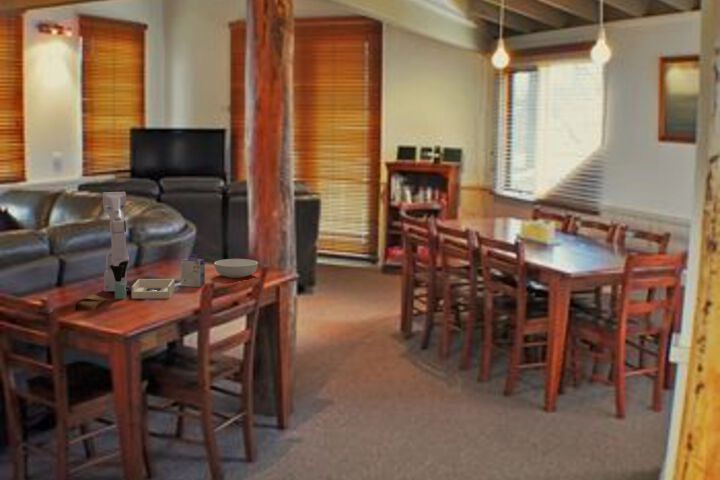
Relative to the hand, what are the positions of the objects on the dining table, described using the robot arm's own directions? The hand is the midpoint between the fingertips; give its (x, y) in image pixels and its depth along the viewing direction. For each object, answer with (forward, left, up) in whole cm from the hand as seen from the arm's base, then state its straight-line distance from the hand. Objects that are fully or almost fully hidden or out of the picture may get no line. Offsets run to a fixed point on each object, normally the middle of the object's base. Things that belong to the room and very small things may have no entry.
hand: (120, 279), depth 371 cm
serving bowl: (+46, +44, -8) cm, 64 cm away
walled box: (+13, +6, -8) cm, 16 cm away
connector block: (0, 0, -8) cm, 8 cm away
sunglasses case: (-9, -13, -9) cm, 18 cm away
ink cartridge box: (+28, +23, -8) cm, 37 cm away
